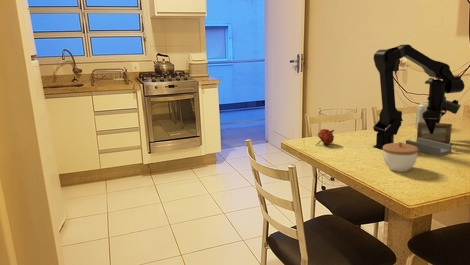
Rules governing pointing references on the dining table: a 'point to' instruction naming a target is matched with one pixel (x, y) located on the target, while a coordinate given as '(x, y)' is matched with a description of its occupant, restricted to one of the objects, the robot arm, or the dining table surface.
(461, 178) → the dining table surface
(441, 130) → the brown flat block
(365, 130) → the dining table surface
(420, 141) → the display ledge
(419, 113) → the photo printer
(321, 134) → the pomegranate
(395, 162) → the lidded jar
